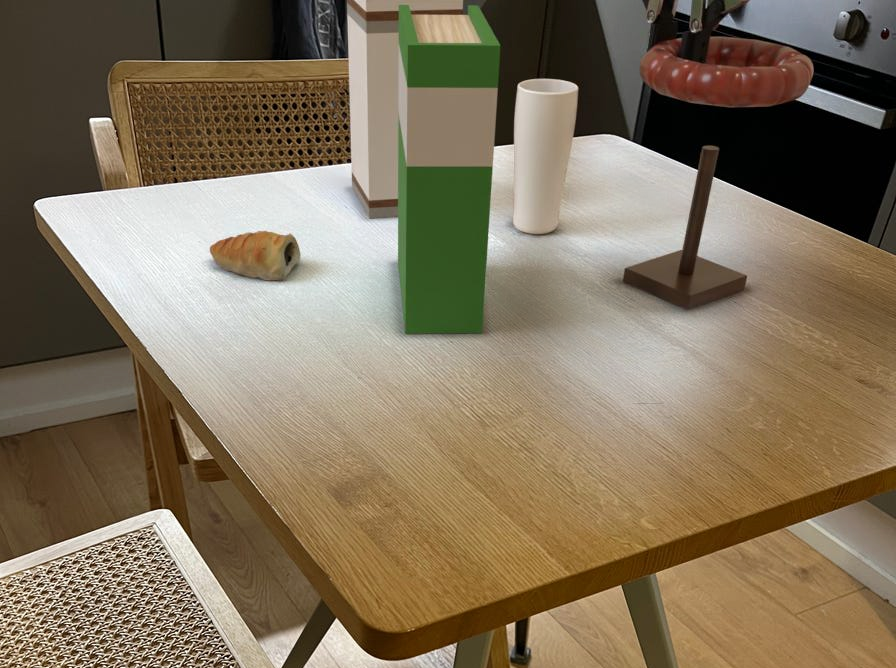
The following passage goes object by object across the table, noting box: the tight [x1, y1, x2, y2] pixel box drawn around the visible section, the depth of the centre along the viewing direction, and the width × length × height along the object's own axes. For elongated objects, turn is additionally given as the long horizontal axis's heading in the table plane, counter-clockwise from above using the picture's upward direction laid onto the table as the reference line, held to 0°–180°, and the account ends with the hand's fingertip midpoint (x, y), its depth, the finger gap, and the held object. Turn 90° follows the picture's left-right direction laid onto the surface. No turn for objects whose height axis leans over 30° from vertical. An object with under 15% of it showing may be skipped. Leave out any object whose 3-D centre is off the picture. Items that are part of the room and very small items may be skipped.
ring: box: [639, 36, 815, 108], centre depth 88 cm, size 15×15×3 cm
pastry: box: [209, 230, 301, 281], centre depth 103 cm, size 9×7×4 cm
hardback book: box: [397, 4, 501, 335], centre depth 91 cm, size 18×7×24 cm, turn 3°
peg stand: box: [622, 145, 748, 311], centre depth 98 cm, size 9×9×14 cm
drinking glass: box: [512, 78, 579, 235], centre depth 110 cm, size 7×7×15 cm
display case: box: [346, 0, 464, 219], centre depth 110 cm, size 11×11×35 cm
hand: (672, 73), depth 92 cm, fingers closed on ring, 3 cm apart
